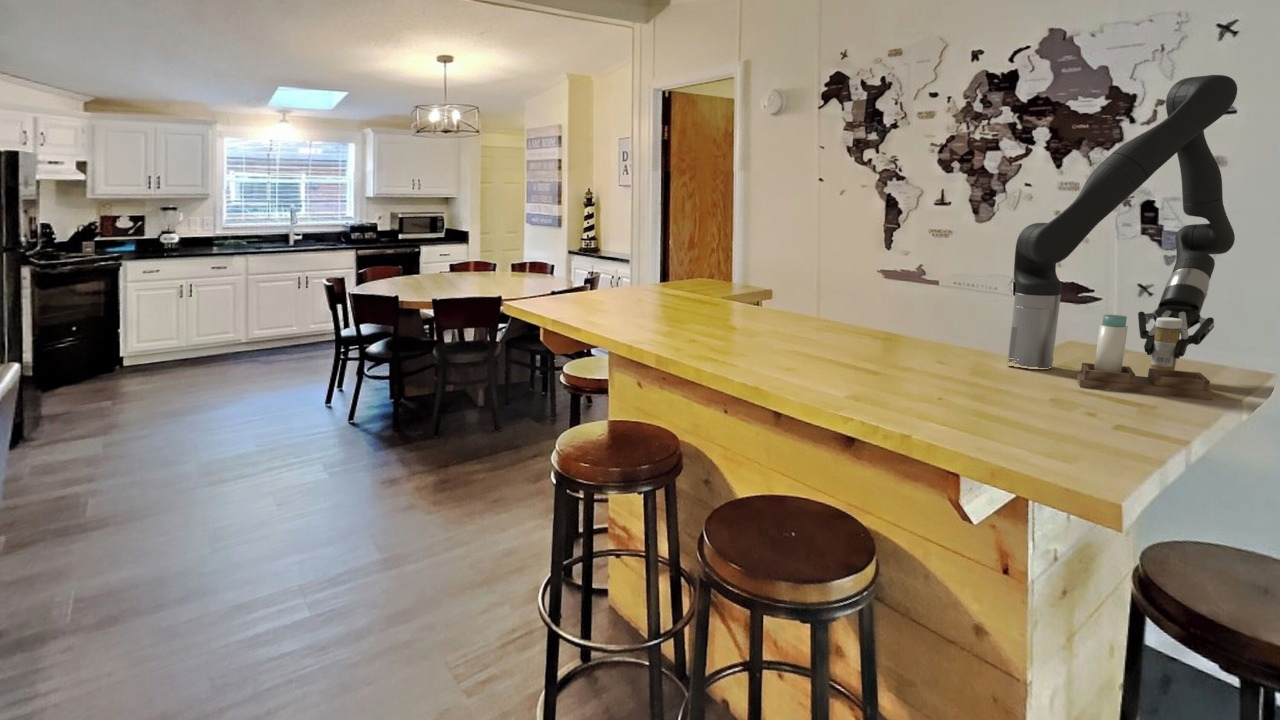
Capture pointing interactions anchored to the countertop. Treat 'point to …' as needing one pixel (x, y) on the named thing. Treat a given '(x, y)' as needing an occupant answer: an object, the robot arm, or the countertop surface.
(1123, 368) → the pocket board
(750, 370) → the countertop surface
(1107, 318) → the bottle
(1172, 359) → the sprinkles bottle
